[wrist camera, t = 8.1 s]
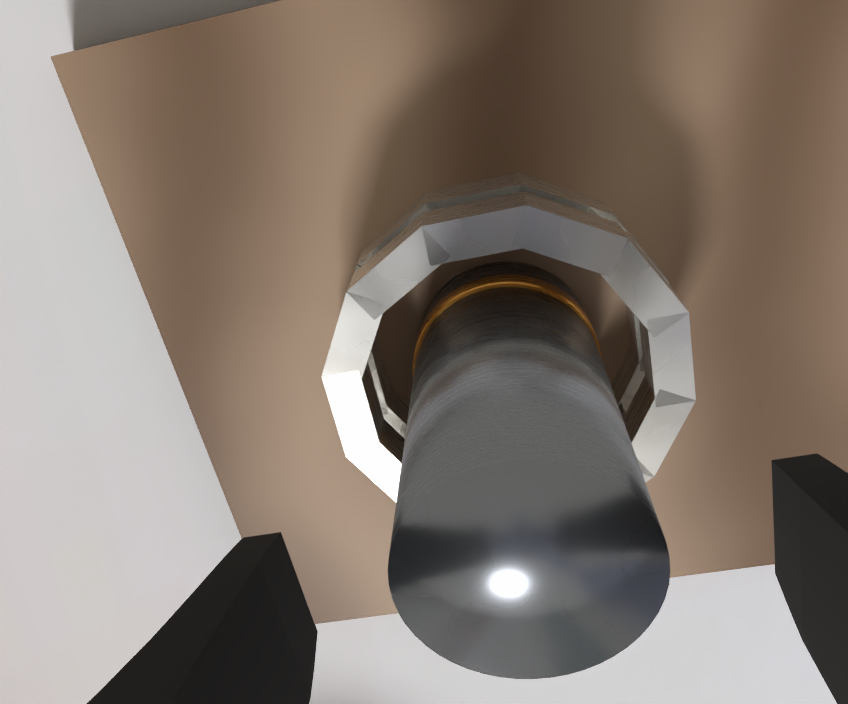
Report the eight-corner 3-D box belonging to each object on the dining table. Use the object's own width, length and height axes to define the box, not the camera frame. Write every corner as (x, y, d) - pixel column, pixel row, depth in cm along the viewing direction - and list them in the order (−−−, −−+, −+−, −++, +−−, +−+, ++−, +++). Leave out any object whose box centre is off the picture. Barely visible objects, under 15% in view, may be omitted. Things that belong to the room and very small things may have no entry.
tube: (590, 251, 17) (678, 446, 10) (593, 411, 19) (670, 676, 12) (407, 267, 18) (365, 467, 10) (426, 423, 19) (402, 686, 12)
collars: (647, 145, 16) (678, 174, 14) (675, 443, 19) (704, 507, 17) (307, 215, 17) (283, 253, 15) (386, 487, 20) (375, 554, 18)
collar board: (845, -137, 15) (869, -145, 14) (837, 529, 21) (854, 553, 20) (72, 52, 17) (50, 56, 16) (284, 603, 24) (277, 628, 23)
